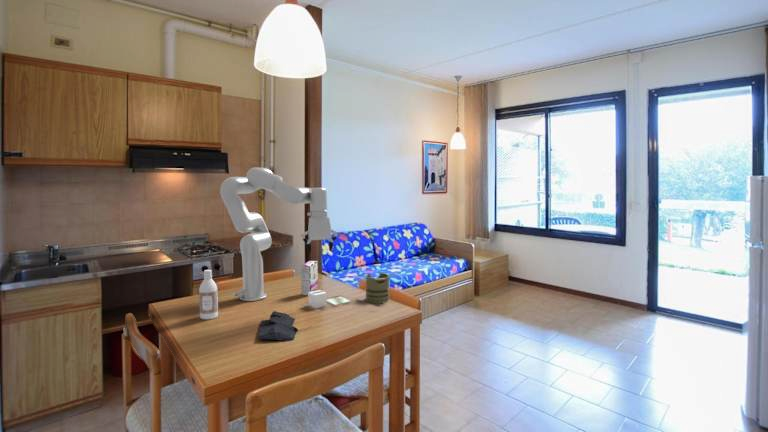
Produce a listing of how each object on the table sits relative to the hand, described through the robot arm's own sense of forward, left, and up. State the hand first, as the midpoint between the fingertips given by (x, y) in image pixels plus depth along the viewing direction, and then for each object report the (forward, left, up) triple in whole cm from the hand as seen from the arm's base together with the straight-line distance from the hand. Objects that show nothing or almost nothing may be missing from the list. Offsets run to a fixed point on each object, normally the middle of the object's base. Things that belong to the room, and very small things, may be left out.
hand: (320, 251), depth 179 cm
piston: (+26, -11, -25) cm, 38 cm away
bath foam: (-45, +14, -25) cm, 54 cm away
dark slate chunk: (-29, -17, -26) cm, 42 cm away
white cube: (-4, -5, -24) cm, 24 cm away
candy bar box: (+4, +16, -25) cm, 30 cm away
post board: (+2, -5, -25) cm, 25 cm away
